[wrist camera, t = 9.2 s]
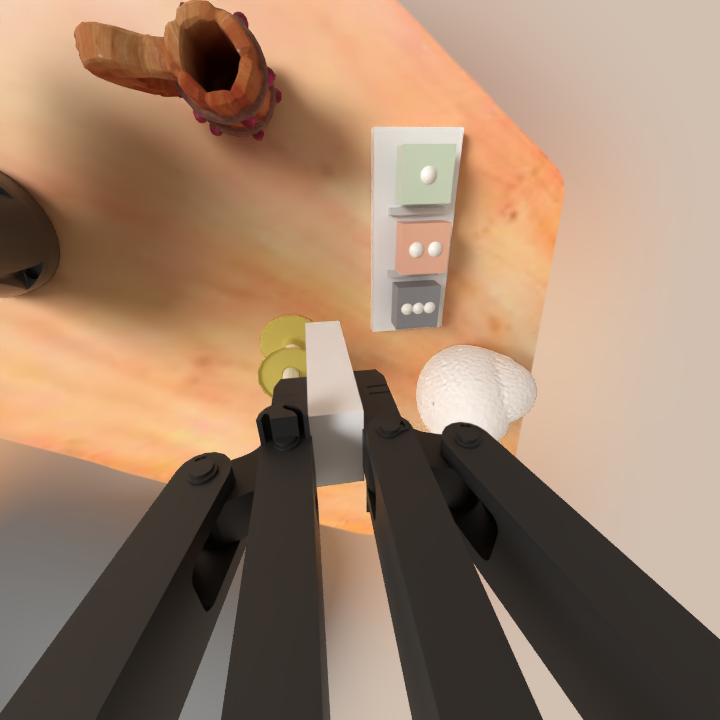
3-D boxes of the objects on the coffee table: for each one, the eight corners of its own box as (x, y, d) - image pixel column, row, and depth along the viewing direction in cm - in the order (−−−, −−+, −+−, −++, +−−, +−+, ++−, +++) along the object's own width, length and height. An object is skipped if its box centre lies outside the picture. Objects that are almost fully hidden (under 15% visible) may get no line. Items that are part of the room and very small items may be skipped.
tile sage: (395, 203, 41) (401, 204, 38) (397, 146, 38) (404, 143, 35) (441, 201, 42) (450, 203, 39) (446, 146, 39) (457, 143, 36)
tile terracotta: (395, 269, 44) (401, 275, 41) (396, 221, 41) (403, 224, 38) (437, 267, 45) (446, 272, 42) (442, 219, 42) (452, 222, 39)
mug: (281, 56, 35) (268, -16, 22) (284, 145, 39) (275, 128, 26) (132, 35, 33) (21, -59, 20) (151, 133, 37) (68, 107, 24)
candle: (247, 352, 51) (201, 496, 28) (281, 301, 48) (262, 416, 25) (302, 381, 55) (301, 528, 32) (336, 336, 52) (364, 462, 29)
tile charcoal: (391, 321, 49) (396, 330, 46) (392, 282, 46) (398, 288, 43) (429, 319, 50) (437, 327, 47) (433, 279, 47) (441, 285, 44)
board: (370, 326, 52) (374, 335, 50) (371, 129, 40) (376, 125, 37) (436, 322, 54) (443, 329, 51) (457, 129, 41) (468, 125, 38)
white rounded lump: (378, 363, 56) (402, 424, 42) (463, 294, 52) (521, 336, 38) (440, 425, 65) (477, 492, 51) (516, 371, 61) (578, 426, 47)
